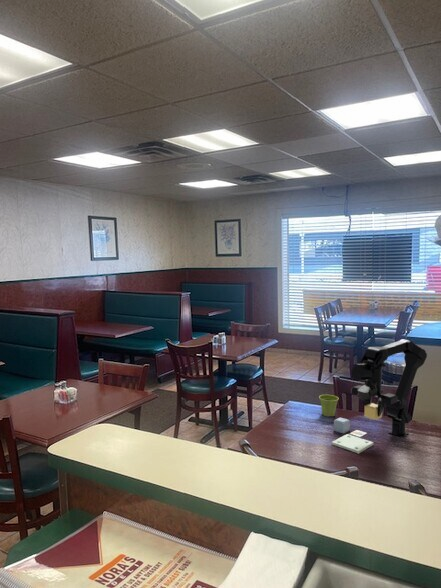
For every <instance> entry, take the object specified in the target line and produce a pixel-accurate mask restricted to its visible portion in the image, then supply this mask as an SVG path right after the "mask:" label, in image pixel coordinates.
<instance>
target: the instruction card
mask: <svg viewBox="0 0 441 588" xmlns="http://www.w3.org/2000/svg"><path fill="white" fill-rule="evenodd" d="M367 434H368V432H365V431H362V430H359V429H356V430H354V431H352V432H350V433H349V435H352V436H355V437H358V438H362V437H363V436H365V435H367Z"/></svg>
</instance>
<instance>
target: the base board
mask: <svg viewBox="0 0 441 588" xmlns="http://www.w3.org/2000/svg"><path fill="white" fill-rule="evenodd" d="M331 445H333V446H335V447H339V448H341V449H344V450H348V451H350V452H353V453H356V454H358V455H359V454H360V453H362V452H364V451H365V450H367V449H368V448H370V447H372V446H374V442H373V441H371V440H367V439H364V438H362V437H358V436H354V435H351V434H350V433H347V434H346V433H345V434H344V435H343V436H341V437H339V438H337V439H335V440H332V441H331Z"/></svg>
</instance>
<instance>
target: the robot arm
mask: <svg viewBox="0 0 441 588" xmlns="http://www.w3.org/2000/svg"><path fill="white" fill-rule="evenodd" d="M401 352H402V353H403V354H404V363H405V365H404V369H403V371H402V375H401V377H400V379H399V382H398V385H397V388H396V391H395V394H394V393H390V392H387V393H386V394H385V393H384V389H382V384H383V383H384V380H383V379H382V378H383V376H382V375H383V368H385V367H387V365H386V364H385V363H384V362H386V361H387V360H388V357H389V358H390V357H391V356H394V355H397V354H399V353H401ZM427 357H428V353H427V351H426V350H425V349H424V348H422V347H421V346H418V345H417V344H415V343H414V342H413V341H412V340H409V339H403V338H402V339H399V340H398V341H395V342H391V343H389V344H385V345H383V346H369V347H367V348H366V350H365V352H364V353H363V356H362V358H361V359H360V361H359V363H355V366H354V367H353V368H352V370H351V371H350V374H351V377H352V380H355V381H356V382H361V381H364V384H363V385H356V386H353V387H352V388H351V389H350V390H351V391H350V393H351V394H352V395H355V396H357V398H359V399H360V400H361V401H362V403H363V406H364V407H365V406H366V405H368V404H371V400H372V398H378V399H379V400H376V404H377V405H378V417H379V416H380V415H381V413H382V414H383V411H384V409H385V413H386V417H387V418H389V419H391V429H390V430H389V431H388V434H391V435H394V436H397V437H401V438H404V437H405V436H407V435H408V434H409V431H406V429H407V424H409V423H411V421H412V419H413V418H412V416H411V414H410V413H409V412H408V410H409V404H408V401H407V399H408V396H409V395H410V391H411V389H412V385H413V383H414V380H415V377H416V374H417V371H418V369H420V368H421V367H422V366H423V365H424V364H425V361H426V359H427Z"/></svg>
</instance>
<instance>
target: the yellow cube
mask: <svg viewBox="0 0 441 588" xmlns="http://www.w3.org/2000/svg"><path fill="white" fill-rule="evenodd" d="M363 416H364V417H365V418H368V419H371V420H373V421H376V420H378V419H381V418H382V417H383V412H382V413H381V415H380V416H379V417H378V404H377V403H374V402H370V404H368V405H366V406H364V415H363Z"/></svg>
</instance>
